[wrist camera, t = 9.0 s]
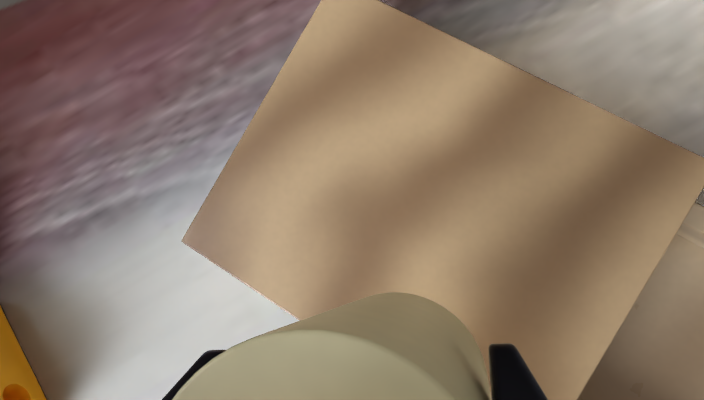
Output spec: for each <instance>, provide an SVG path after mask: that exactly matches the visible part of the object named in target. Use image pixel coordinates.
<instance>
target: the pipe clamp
mask: <svg viewBox="0 0 704 400" xmlns="http://www.w3.org/2000/svg"><path fill="white" fill-rule="evenodd" d="M0 400H47V399H46V397H45V395H44V393H43V391H42V389H41V387H40V385H39V383H38V381H37V379H36V377H35V375H34V373H33V371H32V369H31V367H30V365H29V363H28V361H27V359H26V357H25V355H24V353H23V351H22V349H21V347H20V345H19V343H18V341H17V339H16V337H15V335H14V333H13V331H12V329H11V327H10V325H9V323H8V321H7V319H6V317H5V314H4V312H3V310H2V308H1V306H0Z"/></svg>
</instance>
